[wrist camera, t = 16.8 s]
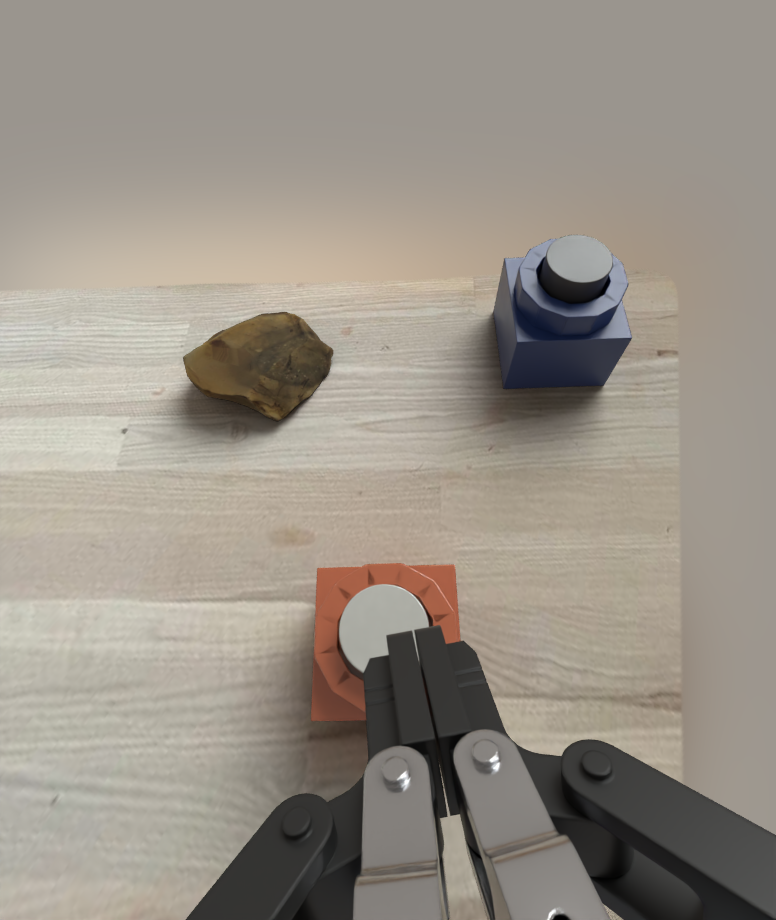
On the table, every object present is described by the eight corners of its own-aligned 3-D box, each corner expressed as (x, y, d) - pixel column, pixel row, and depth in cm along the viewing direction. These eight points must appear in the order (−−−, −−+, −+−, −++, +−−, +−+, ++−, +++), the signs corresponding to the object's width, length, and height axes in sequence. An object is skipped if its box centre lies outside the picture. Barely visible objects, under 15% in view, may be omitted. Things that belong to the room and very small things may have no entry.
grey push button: (596, 256, 38) (606, 232, 36) (609, 303, 36) (619, 281, 34) (535, 258, 38) (541, 235, 36) (544, 305, 36) (551, 284, 34)
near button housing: (586, 307, 46) (619, 232, 38) (603, 385, 42) (643, 318, 35) (493, 311, 46) (508, 236, 39) (503, 389, 42) (522, 323, 35)
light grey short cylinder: (426, 590, 28) (426, 582, 26) (430, 679, 26) (431, 677, 25) (344, 592, 28) (339, 584, 27) (342, 681, 27) (337, 679, 25)
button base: (448, 586, 36) (457, 555, 29) (456, 717, 32) (470, 719, 25) (331, 589, 36) (311, 559, 29) (327, 719, 33) (303, 722, 25)
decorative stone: (272, 307, 47) (262, 278, 44) (350, 361, 44) (345, 333, 41) (182, 384, 44) (164, 358, 41) (259, 447, 41) (246, 425, 38)
